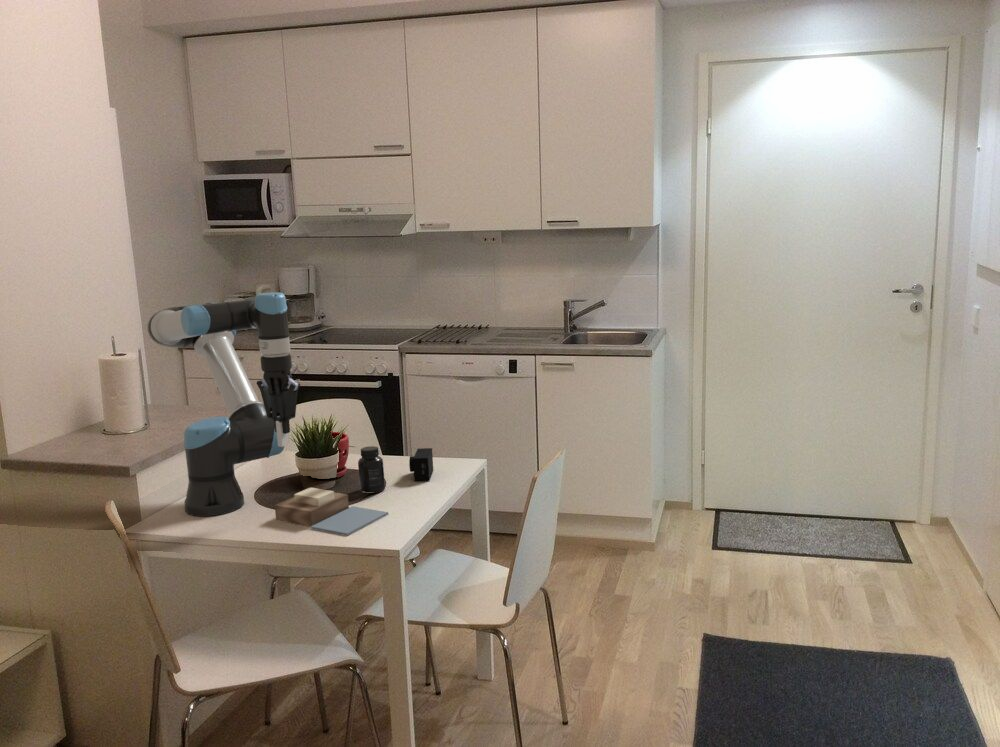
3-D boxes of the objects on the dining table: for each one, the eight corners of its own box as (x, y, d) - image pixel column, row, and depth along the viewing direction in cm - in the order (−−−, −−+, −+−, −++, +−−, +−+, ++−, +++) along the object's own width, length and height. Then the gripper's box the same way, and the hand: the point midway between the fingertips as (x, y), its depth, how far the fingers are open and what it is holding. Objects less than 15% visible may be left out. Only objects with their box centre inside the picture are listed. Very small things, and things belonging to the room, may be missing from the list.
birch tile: (294, 501, 227) (294, 494, 226) (310, 494, 232) (310, 487, 232) (318, 506, 223) (318, 498, 222) (334, 498, 228) (333, 491, 228)
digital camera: (414, 471, 263) (413, 448, 261) (433, 470, 262) (432, 447, 261) (410, 482, 252) (408, 458, 251) (429, 481, 252) (428, 457, 251)
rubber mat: (310, 528, 219) (310, 526, 219) (352, 508, 232) (352, 506, 232) (347, 535, 213) (347, 533, 213) (388, 514, 226) (388, 512, 226)
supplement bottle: (388, 486, 249) (385, 445, 247) (380, 494, 242) (377, 451, 240) (364, 486, 250) (361, 444, 248) (356, 494, 244) (353, 451, 241)
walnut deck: (276, 520, 226) (274, 505, 225) (313, 503, 238) (312, 488, 237) (312, 527, 220) (310, 511, 219) (348, 509, 232) (347, 494, 231)
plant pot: (323, 485, 253) (320, 444, 250) (296, 477, 262) (293, 437, 259) (360, 473, 262) (357, 434, 260) (333, 466, 271) (330, 428, 269)
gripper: (245, 355, 225) (254, 446, 229) (284, 358, 218) (292, 451, 223) (267, 351, 231) (275, 439, 236) (305, 353, 225) (313, 444, 229)
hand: (283, 445), depth 229 cm, fingers closed
